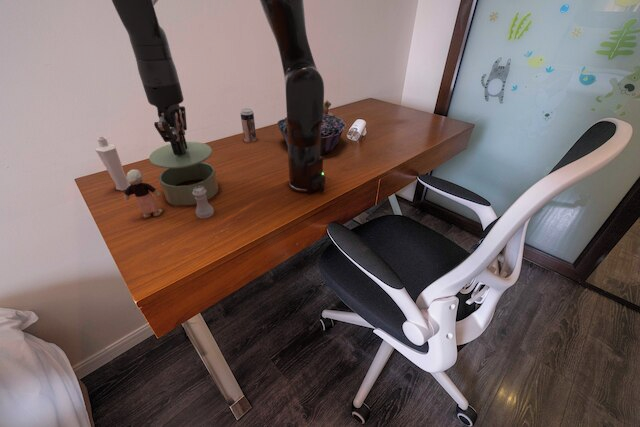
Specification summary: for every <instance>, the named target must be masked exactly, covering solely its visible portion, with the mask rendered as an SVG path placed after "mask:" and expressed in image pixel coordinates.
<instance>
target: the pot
mask: <svg viewBox="0 0 640 427" xmlns="http://www.w3.org/2000/svg"><path fill="white" fill-rule="evenodd" d="M158 180H159V184H160V187H161V189H162V191H163V195H164V197H165V200H166V201H167V203H168V204H170V205H172V206H175V207H179V206H192V205H197V201H196V199H195V195H193V194H192V192H193V189H195V188H194V187H197V188H198V186H200V187H201V186H203V187H204V189H206V193H205V195H207V197H206V198H207V201H208V200H210V199H212V198H213V197H214V196H215V195H217V193H218V191H219V188H220V187H219V182H218V177H217V173H216V169H215V168H214V166H213V165H211V164H209V163H208V162H204V161H203V162H201V163H199V164H196V165H193V166H189V167H184V168H165V169H164V170H163V171H162V172H160V174H159V176H158ZM195 180H196V181H199V180H201V181H199V182H196V183H192V184H188V185H180V184H182V183H185V182H188V181H195Z"/></svg>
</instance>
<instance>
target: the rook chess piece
mask: <svg viewBox="0 0 640 427" xmlns="http://www.w3.org/2000/svg"><path fill="white" fill-rule="evenodd" d="M194 188H195V189H193V192H192V194H193V195H195V199H196V201H197V204H196V207H195V208H196V209H195V214H196V215H195V216H196V217H197V218H199V219H208V218H210V217H212V216H213V215H214V213H215V210H214V207H213V205H211V203H209V201H208V200H207V198H206V197H207V195H205V193H206V189H204V187H203V186H201V187H200V186H198V188H197V187H194Z"/></svg>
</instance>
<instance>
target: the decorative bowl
mask: <svg viewBox="0 0 640 427" xmlns="http://www.w3.org/2000/svg"><path fill="white" fill-rule="evenodd" d="M276 125H277V126H278V129H279V130H280V132H281V134H282V137H283V140H284V143H285V144H286V146H287V147H288V139H287V116H286V117H285V118H282V119H280V120H278V121H277V122H276ZM346 126H347V123H345V121H344V120H343V119H342V118H340V117H338V116H336V115H334V114H333V115H329V114H325V113H323V121H322V125H321V148H320V155H323V154H329V153H330V152H331V151H332V150H334V148H335V147H336V145H338V143H339V140H340V138H341V136H342V133H343V131H344V130H345V128H346Z"/></svg>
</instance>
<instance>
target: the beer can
mask: <svg viewBox="0 0 640 427" xmlns="http://www.w3.org/2000/svg"><path fill="white" fill-rule="evenodd" d="M239 114H240V120H241V128H242V134H243V140H244V142H247V143H253V142H256V141H257V131H256V123H255V116H254V114H255V113H254V111H253V109H252V108H243V109H241V110H240V113H239Z"/></svg>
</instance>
